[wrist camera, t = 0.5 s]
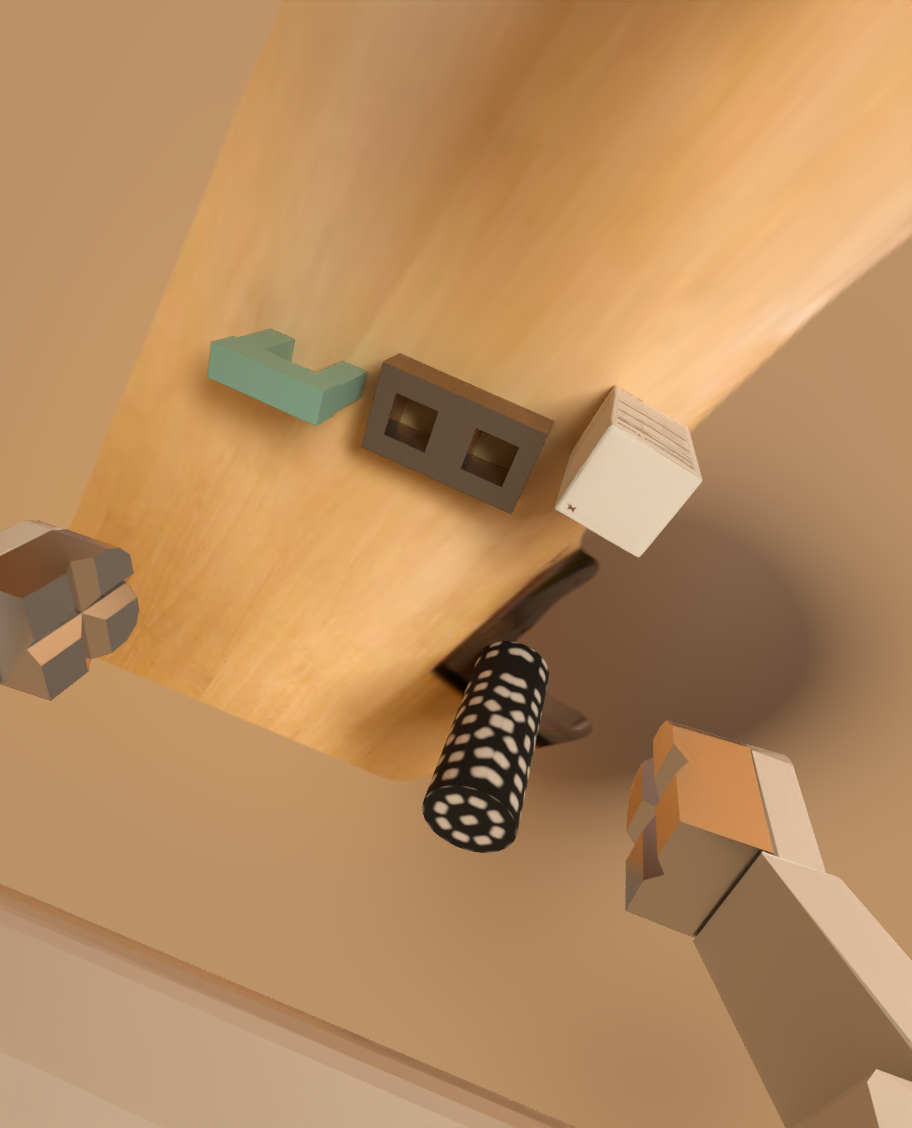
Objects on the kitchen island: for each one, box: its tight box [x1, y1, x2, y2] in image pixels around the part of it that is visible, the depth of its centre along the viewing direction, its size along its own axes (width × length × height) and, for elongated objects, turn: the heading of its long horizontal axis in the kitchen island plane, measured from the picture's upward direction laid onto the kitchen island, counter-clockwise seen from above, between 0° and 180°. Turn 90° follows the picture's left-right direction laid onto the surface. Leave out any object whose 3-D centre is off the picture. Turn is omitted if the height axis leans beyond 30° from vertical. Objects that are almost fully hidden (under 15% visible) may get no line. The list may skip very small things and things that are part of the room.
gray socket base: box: [361, 354, 554, 514], centre depth 52 cm, size 8×15×4 cm, turn 70°
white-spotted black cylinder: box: [422, 641, 549, 853], centre depth 58 cm, size 8×8×20 cm
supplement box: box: [554, 386, 702, 557], centre depth 45 cm, size 7×7×13 cm
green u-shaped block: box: [208, 329, 367, 426], centre depth 51 cm, size 3×10×9 cm, turn 70°
